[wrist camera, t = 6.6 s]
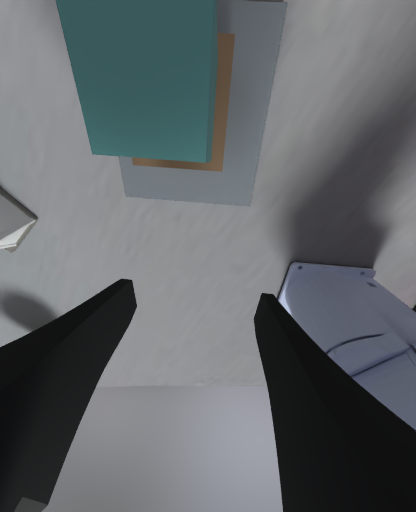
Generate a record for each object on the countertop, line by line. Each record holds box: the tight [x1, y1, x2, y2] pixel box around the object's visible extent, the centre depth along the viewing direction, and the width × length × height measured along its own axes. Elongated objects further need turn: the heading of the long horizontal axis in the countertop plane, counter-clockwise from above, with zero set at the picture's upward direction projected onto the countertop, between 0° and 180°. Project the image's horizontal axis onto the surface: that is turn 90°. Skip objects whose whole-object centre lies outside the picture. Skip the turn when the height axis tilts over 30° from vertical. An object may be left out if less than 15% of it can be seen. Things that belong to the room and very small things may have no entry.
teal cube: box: [56, 0, 218, 163], centre depth 8 cm, size 4×4×5 cm
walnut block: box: [132, 33, 235, 172], centre depth 11 cm, size 6×6×4 cm
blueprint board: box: [119, 0, 287, 206], centre depth 14 cm, size 12×12×1 cm
